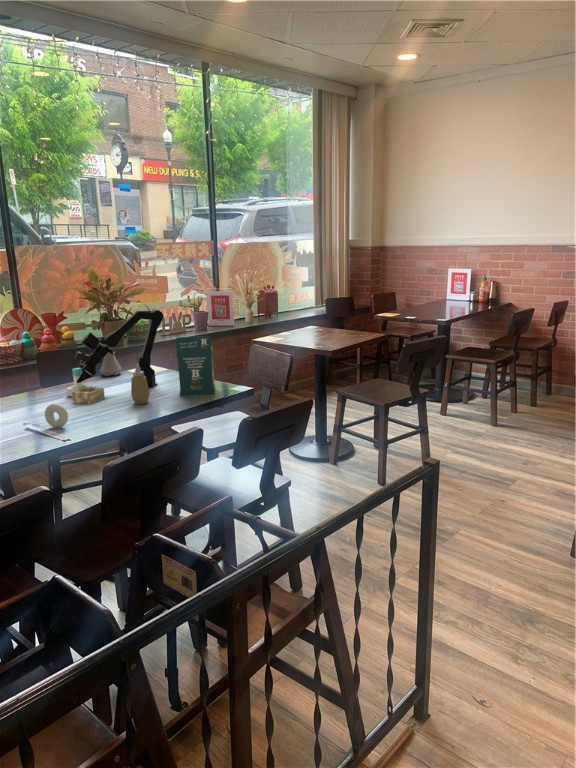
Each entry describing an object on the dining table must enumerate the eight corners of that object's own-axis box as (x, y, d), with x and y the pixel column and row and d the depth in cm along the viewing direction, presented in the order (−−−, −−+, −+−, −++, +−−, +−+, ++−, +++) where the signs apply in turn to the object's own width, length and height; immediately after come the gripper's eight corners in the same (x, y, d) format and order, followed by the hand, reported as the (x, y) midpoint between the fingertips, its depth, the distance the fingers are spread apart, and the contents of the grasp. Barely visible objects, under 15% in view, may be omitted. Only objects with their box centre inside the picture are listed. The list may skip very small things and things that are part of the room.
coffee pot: (107, 372, 321) (104, 346, 317) (125, 372, 319) (123, 346, 315) (87, 381, 300) (84, 353, 297) (107, 381, 298) (104, 353, 295)
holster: (92, 393, 275) (91, 385, 274) (82, 397, 267) (81, 389, 266) (78, 392, 277) (77, 384, 276) (67, 396, 270) (66, 388, 269)
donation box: (180, 396, 264) (175, 337, 257) (183, 388, 279) (178, 332, 272) (214, 394, 265) (210, 335, 258) (215, 386, 281) (211, 330, 274)
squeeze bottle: (153, 400, 258) (149, 362, 253) (144, 405, 250) (140, 366, 246) (137, 400, 260) (134, 362, 255) (128, 404, 252) (124, 365, 248)
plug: (84, 393, 275) (81, 367, 272) (85, 395, 271) (81, 369, 268) (75, 394, 273) (71, 368, 270) (75, 396, 270) (72, 370, 267)
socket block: (104, 398, 265) (103, 387, 264) (91, 403, 256) (90, 393, 254) (86, 397, 268) (85, 386, 267) (73, 402, 259) (71, 392, 257)
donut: (71, 426, 223) (68, 402, 221) (65, 429, 220) (62, 405, 217) (50, 425, 226) (46, 401, 223) (44, 428, 223) (40, 404, 220)
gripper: (82, 342, 277) (61, 366, 275) (86, 348, 260) (63, 374, 258) (100, 356, 282) (80, 380, 280) (105, 363, 265) (83, 388, 263)
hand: (76, 380), depth 270 cm, fingers open, 9 cm apart
